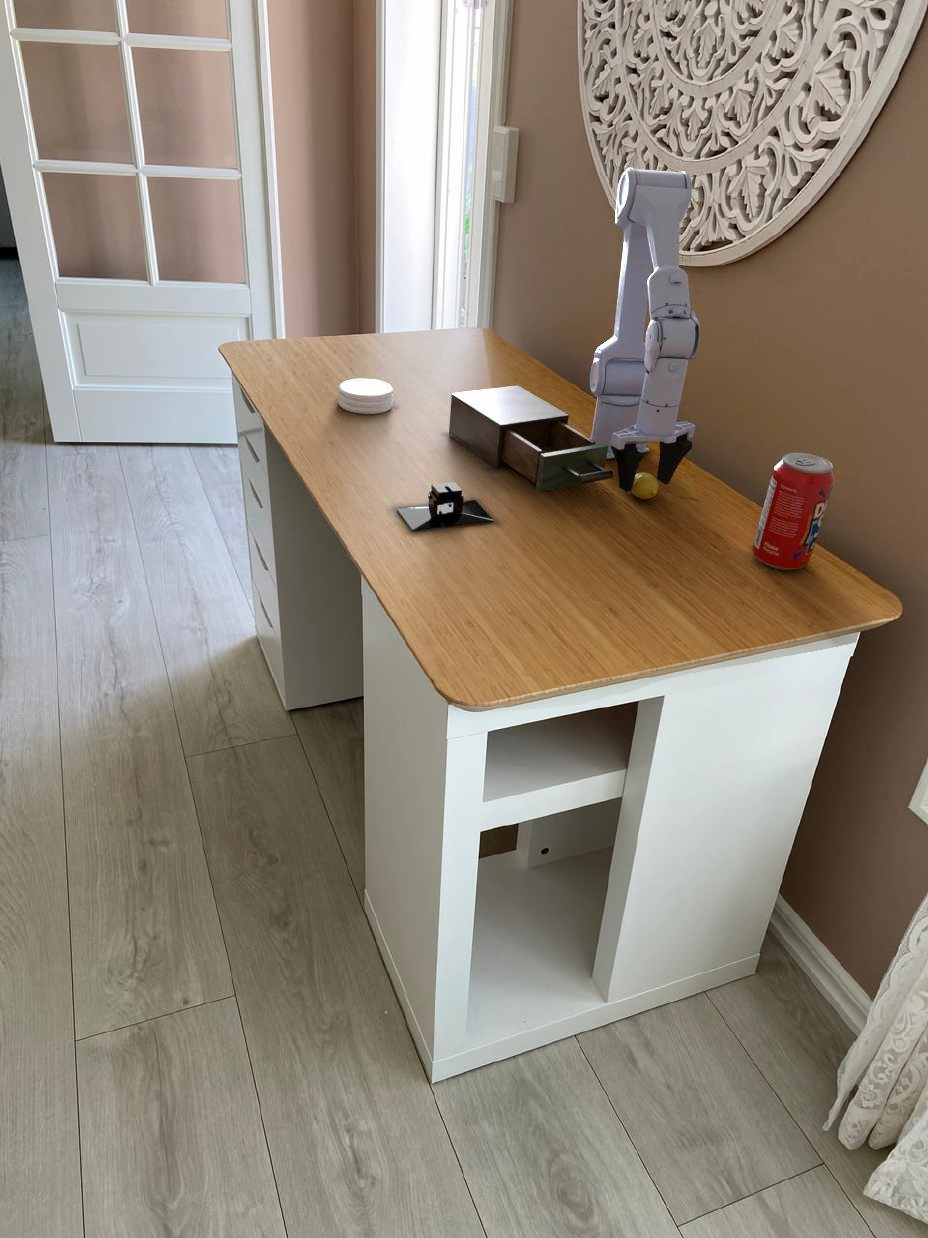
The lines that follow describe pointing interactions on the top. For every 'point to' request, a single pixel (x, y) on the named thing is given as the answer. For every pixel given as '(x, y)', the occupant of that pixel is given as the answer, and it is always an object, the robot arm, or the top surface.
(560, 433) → the drawer
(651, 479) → the lemon
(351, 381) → the coaster
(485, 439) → the cabinet
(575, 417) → the top surface
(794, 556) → the soda can
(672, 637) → the top surface
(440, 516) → the black block on plate
